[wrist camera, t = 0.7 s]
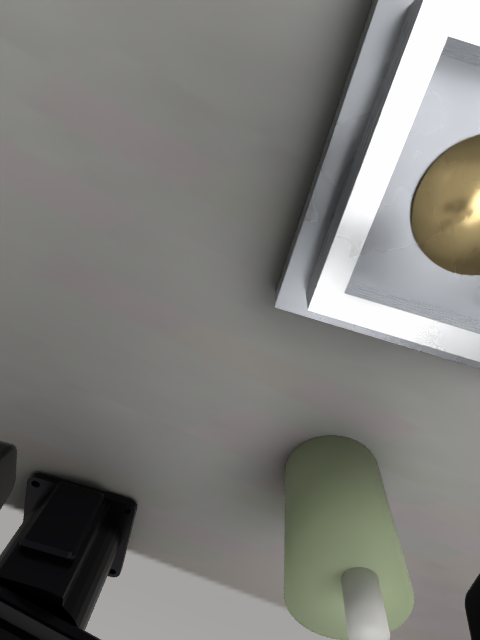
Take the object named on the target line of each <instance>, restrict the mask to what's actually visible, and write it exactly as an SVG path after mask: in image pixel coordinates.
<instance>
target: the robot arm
mask: <svg viewBox="0 0 480 640" xmlns="http://www.w3.org/2000/svg"><path fill="white" fill-rule="evenodd" d="M16 460H17V449H16V447H15V446H14V445H13V444H9V443H5V442H2V441H0V509H1V508H2V506H3V504H4V503H5V501H6V499H7V497H8V496H9V494H10V492H11V490H12V488H13V486H14V483H15V478H16ZM126 507H127V508H126ZM136 510H137V504H136V503H135V502H134V501H133V500H131V499H128V498H124V497H121V496H118V495H114V494H111V493H107V492H104V491H100V490H97V489H94V488H90V487H87V486H83V485H80V484H76V483H73V482H70V481H66V480H63V479H59V478H56V477H53V476H49V475H46V474H42V473H38V472H36V473H33V474H32V475H31V476H30V478H29V479H28V481H27V490H26V499H25V509H24V519H23V523H22V525H21V526H20V527H19V529H18V530H17V532H16V533H15V535H14V536H13V538H12V539H11V541H10V542H9V543H8V545H7V546H6V548H5V549H4V551H3V552H2V554H1V555H0V640H100V639H99V638H97V637H95V636H93V635H91V634H90V633H88V632H86V631H85V628H86V626H87V624H88V621H89V619H90V616H91V614H92V612H93V609H94V607H95V604H96V602H97V599H98V597H99V595H100V592H101V590H102V587H103V585H104V583H105V580H106V578H107V576H110V577H117V576H119V574H120V572H121V569H122V566H123V562H124V558H125V554H126V550H127V546H128V542H129V538H130V534H131V530H132V526H133V522H134V518H135V514H136ZM465 610H466V615H467V620H468V625H469V630H470V635H471V640H480V574H479V575H478V577H477V578H476V580H475V581H474V583H473V584H472V586H471V587H470V589H469V590H468V592H467V594H466V597H465Z"/></svg>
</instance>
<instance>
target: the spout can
mask: <svg viewBox="0 0 480 640" xmlns="http://www.w3.org/2000/svg"><path fill="white" fill-rule="evenodd" d="M284 599H285V604H286V606H287V609H288V610H289V612H290V614H291V615H292V616H293V617H294V619H295V620H296V621H298V622H299V623H300V624H301V625H302V626H304V627H305V628H307V629H309V630H310V631H312V632H315V633H317V634H319V635H322V636H325V637H329V638H333V639H339V640H389V639H390V632H391V631H393V630H395V629H396V628H398V627H399V626H401V625H402V624H403V623H404V622H405V621H406V620H407V618H408V617H409V616H410V614H411V612H412V609H413V607H414V593H413V589H412V585H411V582H410V578H409V574H408V571H407V567H406V564H405V560H404V557H403V553H402V549H401V546H400V542H399V539H398V535H397V532H396V528H395V524H394V521H393V517H392V514H391V510H390V507H389V503H388V500H387V496H386V492H385V489H384V485H383V482H382V478H381V475H380V471H379V467H378V464H377V461H376V459H375V457H374V456H373V454H372V453H371V452H370V450H369V449H368V448H366V447H365V446H364V445H362V444H361V443H359V442H357V441H355V440H353V439H350V438H347V437H343V436H334V435H328V436H320V437H316V438H313V439H310V440H308V441H305V442H304V443H302V444H300V445H299V446H298V447H297V448H296V449H295V450H294V451H293V452H292V453H291V454H290V456H289V458H288V460H287V463H286V466H285V555H284Z"/></svg>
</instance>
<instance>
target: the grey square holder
mask: <svg viewBox="0 0 480 640" xmlns="http://www.w3.org/2000/svg"><path fill="white" fill-rule="evenodd" d="M275 308H279V309H282V310H285V311H289V312H292V313H295V314H299V315H302V316H305V317H309V318H312V319H315V320H319V321H322V322H325V323H329V324H332V325H335V326H338V327H342V328H345V329H348V330H352V331H355V332H358V333H362V334H365V335H368V336H372V337H375V338H378V339H382V340H385V341H388V342H392V343H395V344H398V345H402V346H405V347H408V348H412V349H415V350H418V351H422V352H425V353H428V354H432V355H435V356H438V357H442V358H445V359H448V360H452V361H455V362H458V363H462V364H465V365H468V366H472V367H475V368H478V369H480V0H373V2H372V5H371V8H370V11H369V14H368V17H367V20H366V23H365V26H364V29H363V32H362V35H361V38H360V41H359V44H358V47H357V50H356V53H355V56H354V59H353V62H352V65H351V68H350V71H349V74H348V77H347V80H346V83H345V86H344V89H343V92H342V95H341V98H340V101H339V104H338V107H337V110H336V113H335V116H334V119H333V122H332V125H331V128H330V131H329V134H328V137H327V140H326V143H325V146H324V149H323V152H322V155H321V158H320V161H319V164H318V167H317V170H316V173H315V176H314V179H313V182H312V185H311V188H310V190H309V193H308V196H307V199H306V202H305V205H304V208H303V211H302V214H301V217H300V220H299V223H298V226H297V229H296V232H295V235H294V238H293V241H292V244H291V247H290V250H289V253H288V256H287V259H286V262H285V265H284V268H283V271H282V274H281V277H280V280H279V283H278V286H277V289H276V294H275Z"/></svg>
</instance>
